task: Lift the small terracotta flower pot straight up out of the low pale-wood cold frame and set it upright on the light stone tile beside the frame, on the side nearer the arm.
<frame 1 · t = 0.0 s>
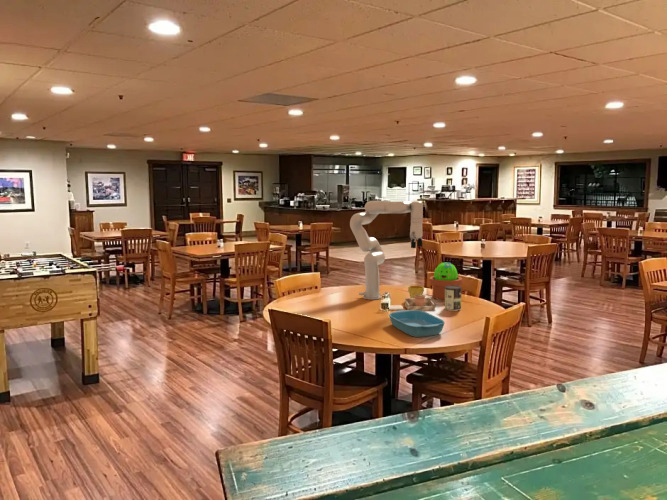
hand: (416, 247, 341), 37 cm above the table, tool pointing down, fingers open, 9 cm apart
coffee can: (452, 309, 330), on the table
cold frame: (419, 308, 334), on the table
stone tile: (395, 308, 333), on the table
casserole dish: (415, 330, 287), on the table
terracotta pot: (419, 308, 334), resting in cold frame
potted cactus: (445, 297, 362), on the table
plant pot: (415, 301, 352), on the table
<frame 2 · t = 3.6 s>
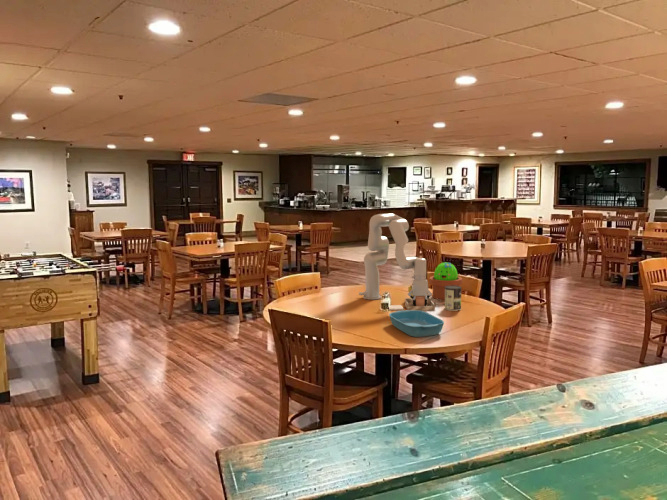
hand: (419, 305, 333), 2 cm above the table, tool pointing down, fingers closed on terracotta pot, 6 cm apart
terracotta pot: (419, 308, 334), resting in cold frame, touching gripper
everything else where it was.
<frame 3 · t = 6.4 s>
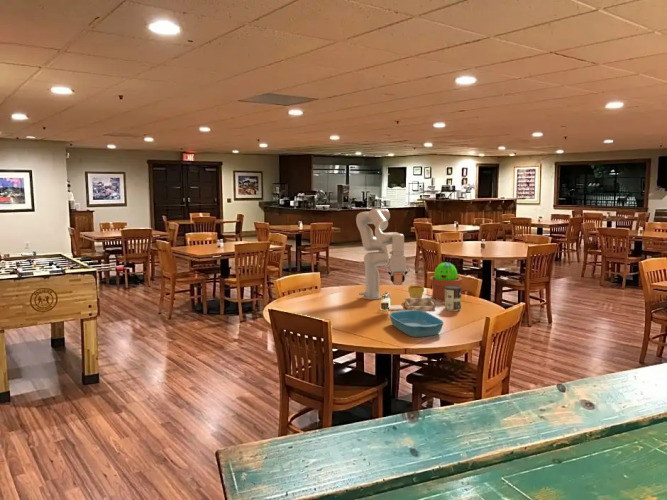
hand: (397, 281, 331), 17 cm above the table, tool pointing down, fingers closed on terracotta pot, 6 cm apart
terracotta pot: (397, 284, 331), point 16 cm above the table, touching gripper
everything else where it was.
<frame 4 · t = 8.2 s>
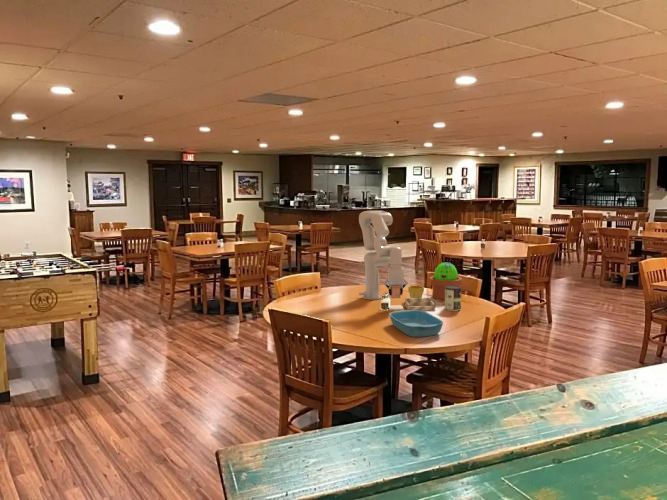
hand: (395, 294, 332), 9 cm above the table, tool pointing down, fingers closed on terracotta pot, 6 cm apart
terracotta pot: (395, 297, 332), point 7 cm above the table, touching gripper
everything else where it was.
when the fingers open (4 cm above the table, at t = 9.6 s): terracotta pot drops 1 cm, resting on stone tile.
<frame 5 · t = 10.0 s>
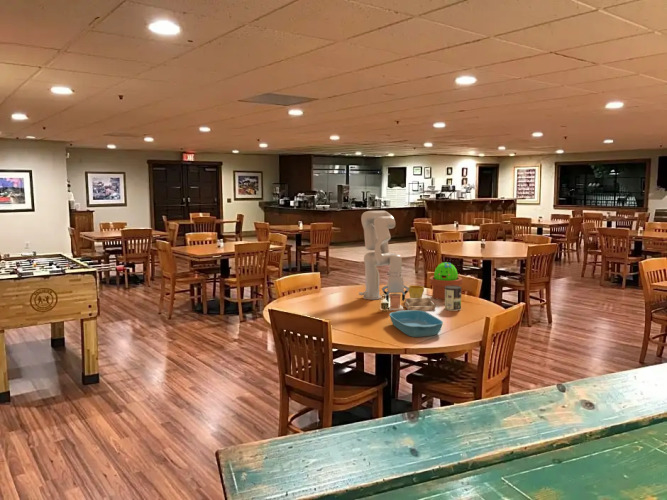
hand: (395, 301, 333), 5 cm above the table, tool pointing down, fingers open, 9 cm apart
terracotta pot: (395, 306, 333), point 1 cm above the table, touching stone tile
everything else where it was.
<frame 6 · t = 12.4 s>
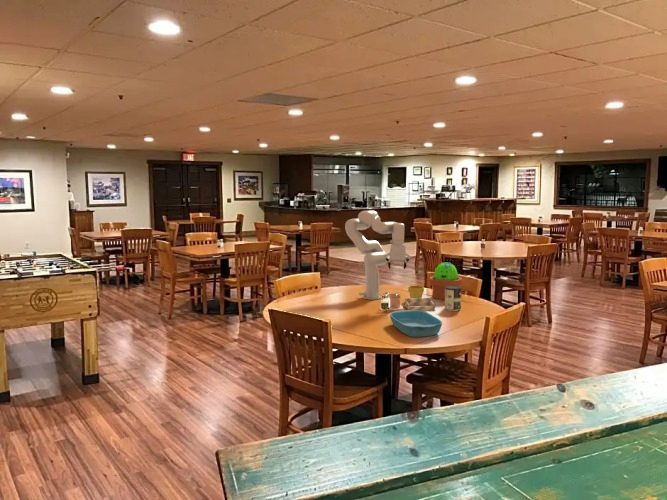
hand: (397, 268, 342), 24 cm above the table, tool pointing down, fingers open, 9 cm apart
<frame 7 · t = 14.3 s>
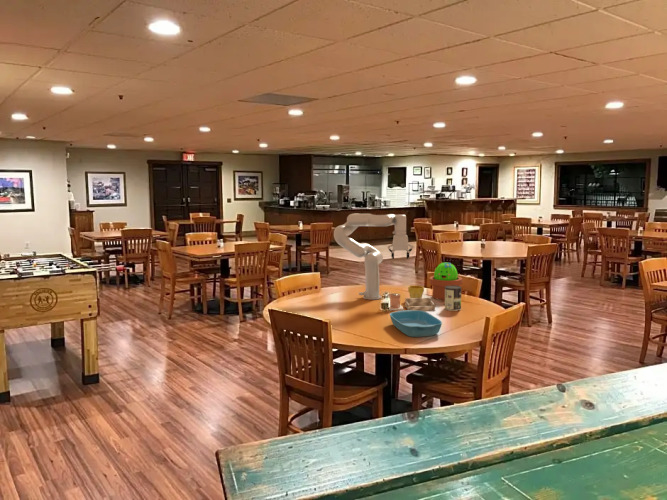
hand: (400, 258, 352), 28 cm above the table, tool pointing down, fingers open, 9 cm apart
at the end: terracotta pot inside the target area on the stone tile (0.1 cm from its centre), point 1.0 cm above the stone tile's base; terracotta pot tilted 0°; the gripper is holding nothing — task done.
